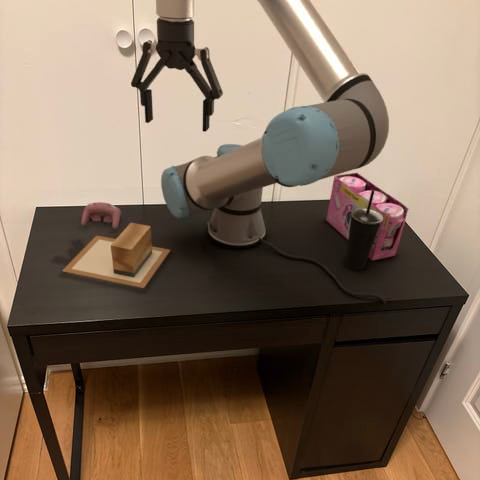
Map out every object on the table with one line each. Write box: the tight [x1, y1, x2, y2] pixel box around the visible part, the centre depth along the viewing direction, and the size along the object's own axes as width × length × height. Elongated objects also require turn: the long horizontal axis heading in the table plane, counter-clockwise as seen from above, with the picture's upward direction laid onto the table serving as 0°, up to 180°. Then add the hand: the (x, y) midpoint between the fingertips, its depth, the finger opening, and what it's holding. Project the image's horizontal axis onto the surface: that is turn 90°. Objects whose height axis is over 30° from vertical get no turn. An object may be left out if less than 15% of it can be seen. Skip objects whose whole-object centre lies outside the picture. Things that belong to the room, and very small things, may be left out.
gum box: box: [325, 172, 410, 261], centre depth 134 cm, size 24×8×14 cm, turn 24°
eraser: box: [111, 222, 153, 277], centre depth 118 cm, size 5×11×8 cm, turn 165°
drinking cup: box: [345, 190, 383, 271], centre depth 122 cm, size 8×8×20 cm
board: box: [61, 235, 171, 289], centre depth 122 cm, size 20×17×1 cm
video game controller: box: [80, 201, 122, 229], centre depth 134 cm, size 10×5×7 cm, turn 84°
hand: (177, 125), depth 115 cm, fingers open, 13 cm apart
